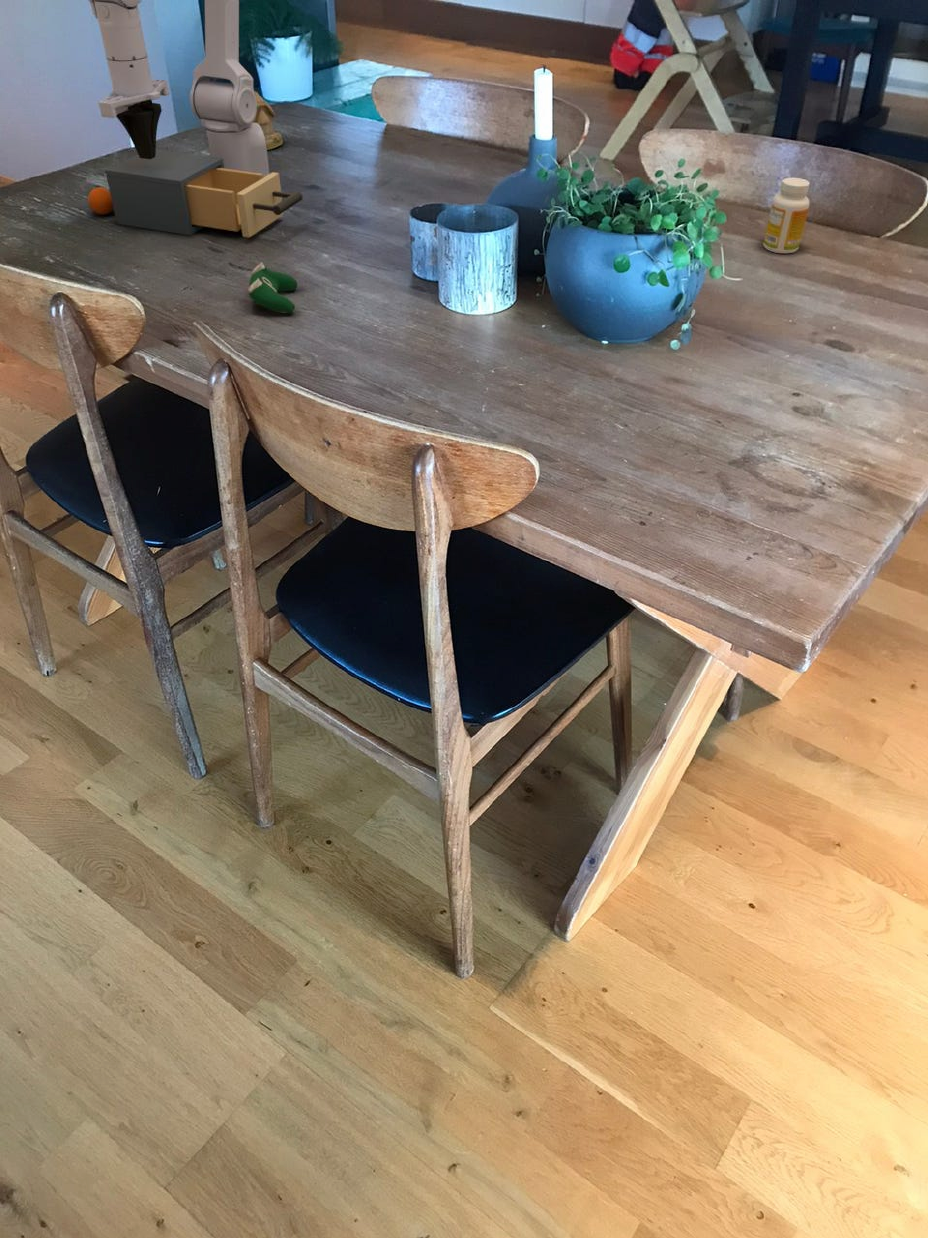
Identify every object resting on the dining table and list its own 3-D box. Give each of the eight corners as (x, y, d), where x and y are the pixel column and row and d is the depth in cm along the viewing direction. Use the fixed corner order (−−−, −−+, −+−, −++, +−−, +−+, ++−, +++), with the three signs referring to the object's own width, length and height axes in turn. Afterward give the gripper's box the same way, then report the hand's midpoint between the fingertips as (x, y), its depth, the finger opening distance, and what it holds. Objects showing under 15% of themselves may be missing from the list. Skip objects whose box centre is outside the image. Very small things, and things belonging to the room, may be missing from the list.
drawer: (311, 218, 148) (307, 176, 144) (277, 242, 141) (272, 198, 137) (216, 204, 153) (210, 163, 149) (179, 226, 145) (171, 183, 141)
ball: (114, 207, 154) (108, 182, 151) (120, 215, 151) (114, 189, 148) (89, 211, 152) (82, 186, 150) (95, 219, 150) (88, 193, 147)
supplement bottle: (799, 243, 145) (816, 177, 138) (796, 256, 141) (813, 189, 134) (764, 239, 146) (779, 173, 140) (760, 251, 142) (775, 184, 136)
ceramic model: (209, 139, 183) (200, 81, 176) (257, 128, 188) (250, 72, 182) (249, 155, 175) (241, 96, 168) (298, 143, 181) (292, 86, 174)
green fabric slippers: (283, 300, 132) (248, 271, 129) (300, 280, 130) (265, 251, 127) (279, 329, 125) (242, 299, 122) (296, 309, 123) (260, 278, 120)
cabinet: (231, 210, 153) (223, 157, 148) (190, 235, 145) (180, 180, 140) (161, 199, 157) (150, 147, 151) (117, 223, 148) (104, 169, 143)
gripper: (120, 69, 128) (142, 174, 137) (178, 48, 138) (195, 147, 148) (77, 65, 130) (102, 168, 139) (138, 44, 140) (157, 142, 149)
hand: (147, 157), depth 143 cm, fingers closed
